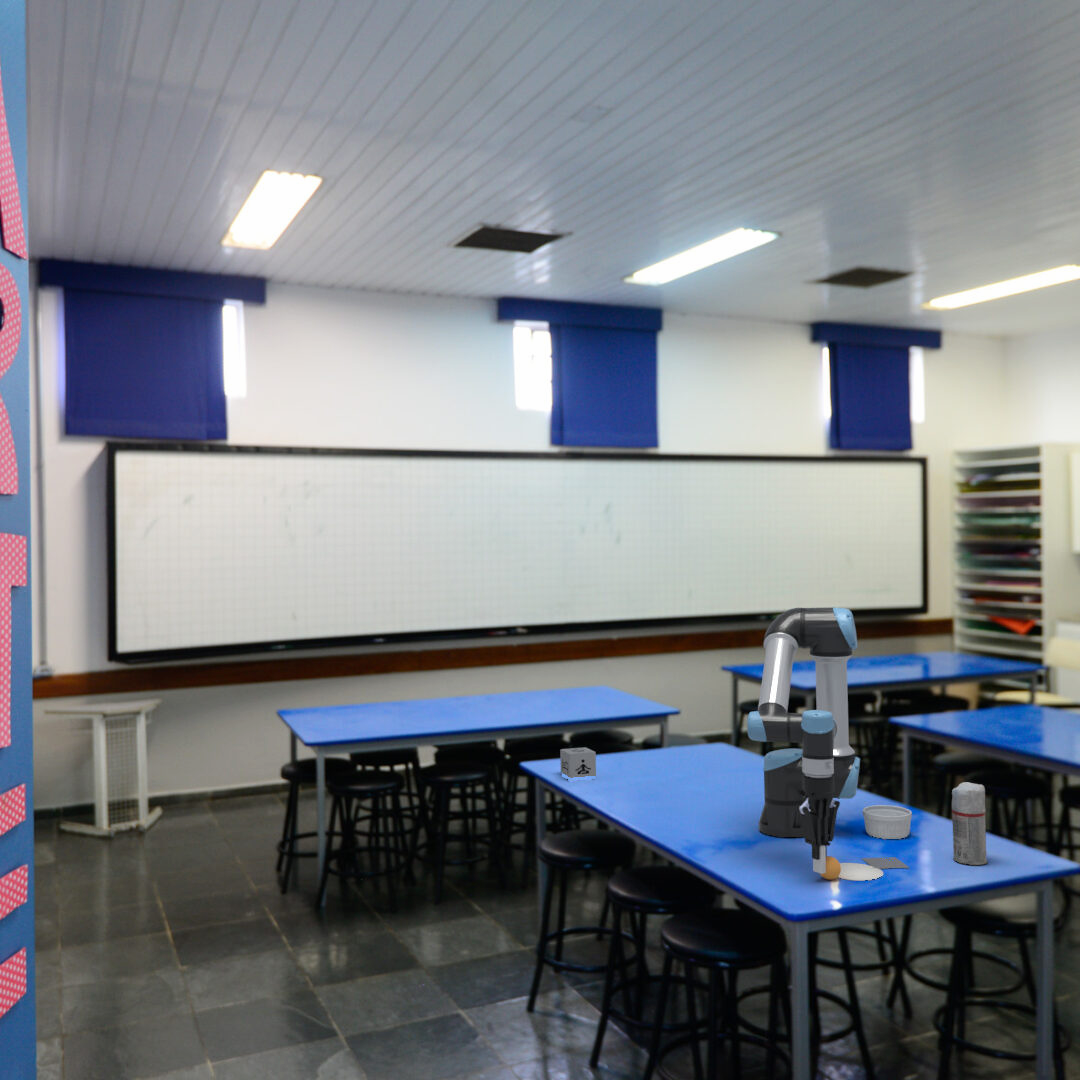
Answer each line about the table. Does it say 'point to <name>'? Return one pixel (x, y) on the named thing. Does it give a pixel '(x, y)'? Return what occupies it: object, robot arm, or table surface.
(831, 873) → the ball
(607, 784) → the table surface
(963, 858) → the spray can
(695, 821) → the table surface
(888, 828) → the ramekin
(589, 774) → the icon cube
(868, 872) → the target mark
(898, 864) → the far mark
